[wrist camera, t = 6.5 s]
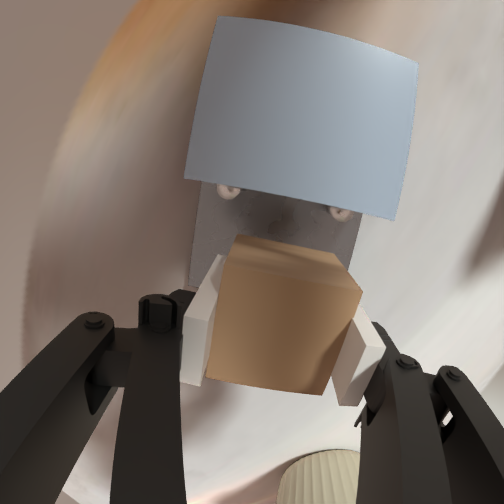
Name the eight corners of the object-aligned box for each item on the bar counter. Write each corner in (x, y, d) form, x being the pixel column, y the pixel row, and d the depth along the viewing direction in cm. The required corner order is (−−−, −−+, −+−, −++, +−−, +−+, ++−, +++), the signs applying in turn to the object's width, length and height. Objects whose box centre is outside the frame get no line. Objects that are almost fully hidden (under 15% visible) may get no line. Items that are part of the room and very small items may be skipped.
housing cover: (232, 55, 20) (217, 15, 13) (380, 87, 20) (418, 62, 13) (208, 174, 22) (183, 178, 16) (359, 205, 22) (394, 221, 16)
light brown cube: (221, 321, 16) (205, 377, 11) (237, 233, 15) (223, 264, 10) (308, 336, 16) (321, 395, 11) (333, 253, 15) (362, 291, 10)
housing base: (229, 56, 21) (222, 36, 17) (379, 88, 21) (399, 75, 17) (191, 279, 27) (178, 300, 22) (331, 304, 27) (342, 329, 22)
